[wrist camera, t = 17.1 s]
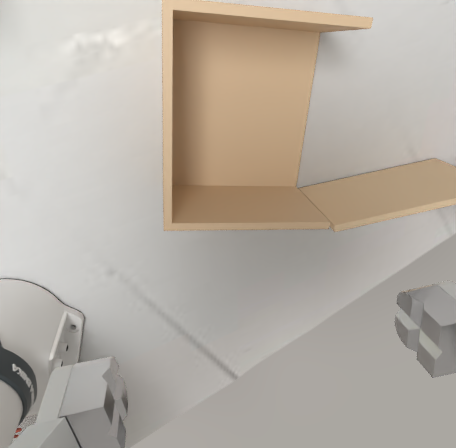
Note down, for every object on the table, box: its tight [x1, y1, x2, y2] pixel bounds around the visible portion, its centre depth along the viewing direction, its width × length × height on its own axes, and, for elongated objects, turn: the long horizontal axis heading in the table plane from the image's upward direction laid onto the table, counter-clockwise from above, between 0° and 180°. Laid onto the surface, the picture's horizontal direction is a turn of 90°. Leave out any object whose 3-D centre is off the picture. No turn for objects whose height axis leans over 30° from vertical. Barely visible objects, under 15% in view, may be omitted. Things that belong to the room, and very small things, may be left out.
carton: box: [162, 0, 373, 231], centre depth 39 cm, size 20×18×12 cm
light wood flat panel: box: [299, 158, 456, 232], centre depth 43 cm, size 20×2×17 cm, turn 99°
